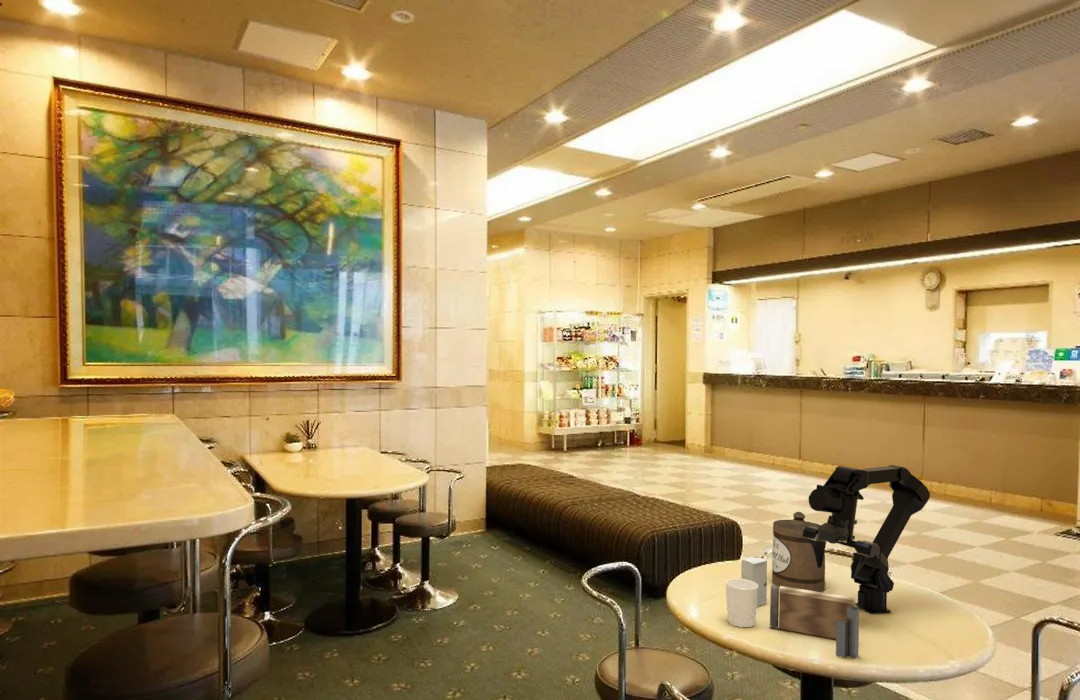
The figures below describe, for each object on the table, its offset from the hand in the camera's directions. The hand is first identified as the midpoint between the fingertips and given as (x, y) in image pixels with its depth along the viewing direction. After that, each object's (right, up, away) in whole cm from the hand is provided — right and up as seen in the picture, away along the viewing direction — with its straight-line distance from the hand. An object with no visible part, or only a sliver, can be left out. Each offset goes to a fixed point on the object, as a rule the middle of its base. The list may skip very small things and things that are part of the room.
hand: (835, 572), depth 175 cm
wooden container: (-1, -12, +23) cm, 26 cm away
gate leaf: (-12, -10, -13) cm, 20 cm away
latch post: (-8, -11, -24) cm, 27 cm away
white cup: (-27, -11, -6) cm, 30 cm away
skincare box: (-19, -11, +8) cm, 24 cm away
